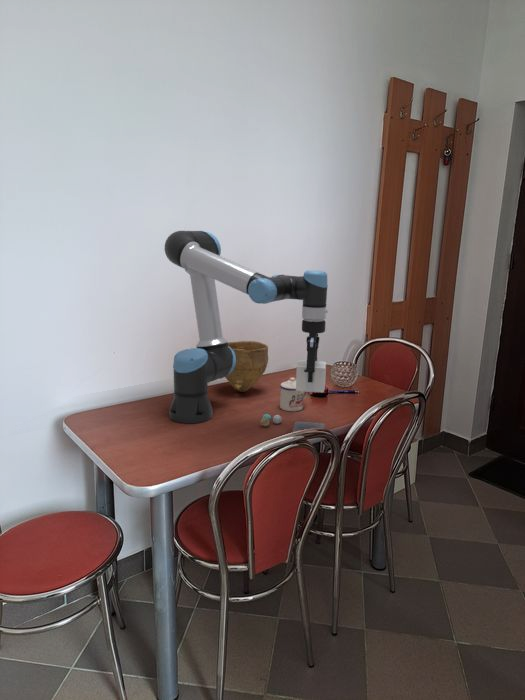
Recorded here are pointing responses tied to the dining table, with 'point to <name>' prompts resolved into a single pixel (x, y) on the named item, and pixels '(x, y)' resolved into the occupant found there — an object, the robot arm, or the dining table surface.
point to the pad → (306, 425)
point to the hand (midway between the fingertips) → (310, 387)
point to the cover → (319, 376)
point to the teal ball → (267, 416)
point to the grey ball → (277, 419)
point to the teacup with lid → (291, 396)
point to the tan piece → (247, 364)
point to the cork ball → (265, 422)
